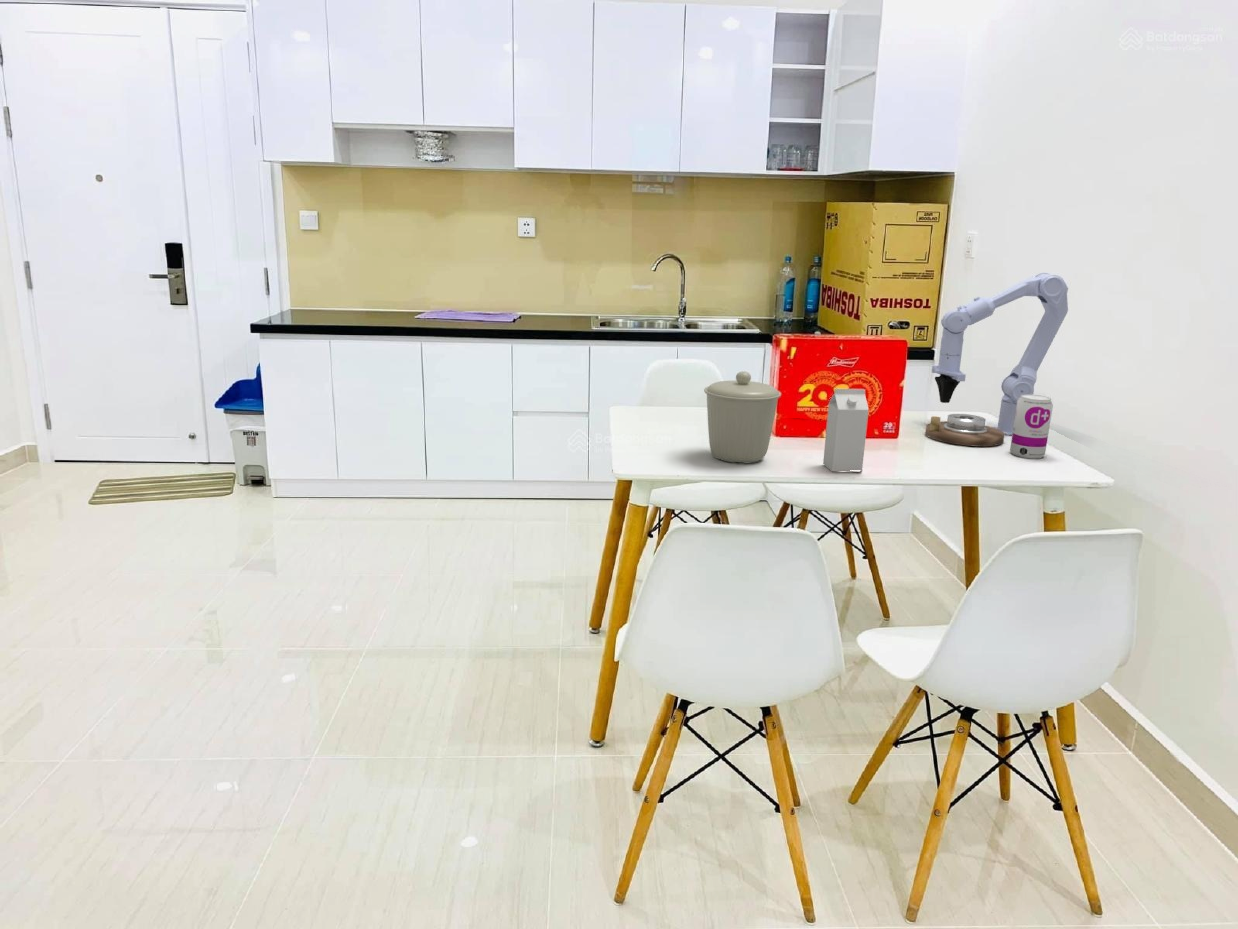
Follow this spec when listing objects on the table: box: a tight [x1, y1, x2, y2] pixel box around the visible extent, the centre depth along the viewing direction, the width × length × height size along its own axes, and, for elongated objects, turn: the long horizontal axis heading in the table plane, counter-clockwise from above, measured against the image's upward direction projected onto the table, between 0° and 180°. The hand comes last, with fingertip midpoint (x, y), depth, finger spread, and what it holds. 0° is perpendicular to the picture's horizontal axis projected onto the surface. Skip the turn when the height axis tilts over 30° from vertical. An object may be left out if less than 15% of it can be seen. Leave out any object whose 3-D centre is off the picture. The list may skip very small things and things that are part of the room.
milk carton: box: [822, 388, 869, 472], centre depth 211 cm, size 7×7×19 cm
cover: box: [944, 413, 987, 435], centre depth 246 cm, size 11×11×4 cm
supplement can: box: [1009, 394, 1054, 460], centre depth 230 cm, size 8×8×15 cm
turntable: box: [925, 415, 1005, 447], centre depth 247 cm, size 20×20×6 cm
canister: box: [703, 371, 782, 463], centre depth 217 cm, size 18×18×21 cm
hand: (944, 402), depth 257 cm, fingers closed
